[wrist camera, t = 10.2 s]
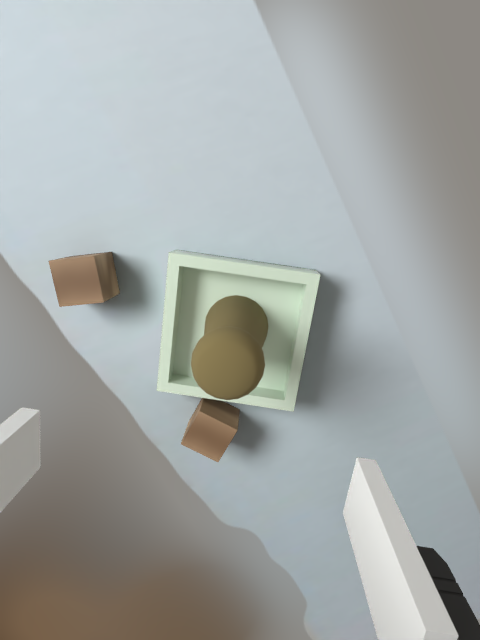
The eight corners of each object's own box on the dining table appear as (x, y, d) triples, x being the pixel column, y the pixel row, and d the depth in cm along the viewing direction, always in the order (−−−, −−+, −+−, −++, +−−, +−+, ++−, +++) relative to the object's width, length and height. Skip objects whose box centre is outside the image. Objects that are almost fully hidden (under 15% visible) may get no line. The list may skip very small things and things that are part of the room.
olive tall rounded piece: (257, 286, 34) (255, 317, 24) (276, 346, 36) (282, 400, 25) (195, 306, 35) (167, 343, 24) (216, 363, 36) (198, 423, 26)
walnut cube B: (205, 391, 39) (199, 411, 35) (239, 409, 39) (237, 430, 35) (188, 422, 40) (180, 443, 36) (222, 438, 40) (218, 462, 36)
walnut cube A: (71, 256, 36) (48, 260, 32) (112, 251, 35) (94, 255, 31) (80, 297, 37) (59, 306, 33) (120, 293, 36) (103, 302, 32)
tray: (176, 249, 35) (168, 252, 32) (315, 269, 35) (320, 274, 32) (164, 377, 38) (156, 390, 35) (290, 396, 38) (293, 411, 35)
